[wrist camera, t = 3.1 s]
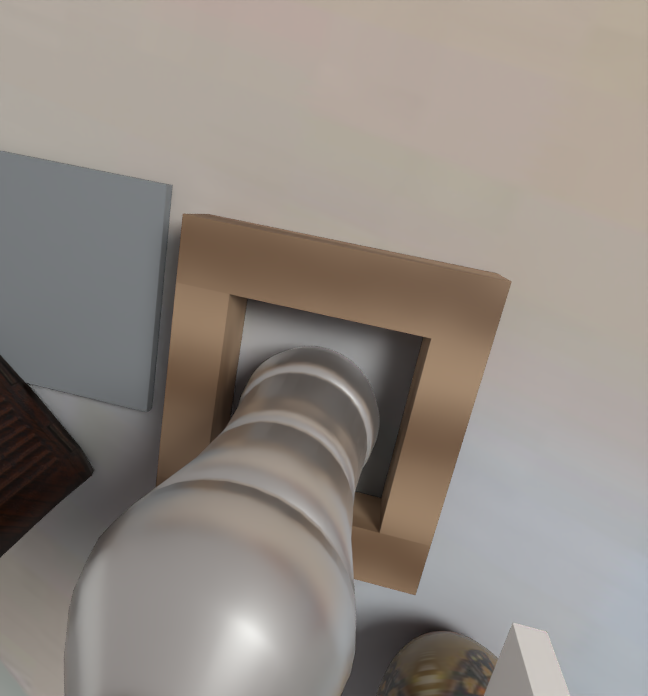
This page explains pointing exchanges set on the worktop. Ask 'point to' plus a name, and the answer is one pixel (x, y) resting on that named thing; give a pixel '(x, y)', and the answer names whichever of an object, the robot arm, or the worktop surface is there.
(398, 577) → the brown rectangular frame
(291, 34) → the worktop surface
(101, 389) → the rubber mat
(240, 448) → the plastic bottle
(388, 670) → the ceramic vessel
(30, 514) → the coffee grinder
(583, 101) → the worktop surface
